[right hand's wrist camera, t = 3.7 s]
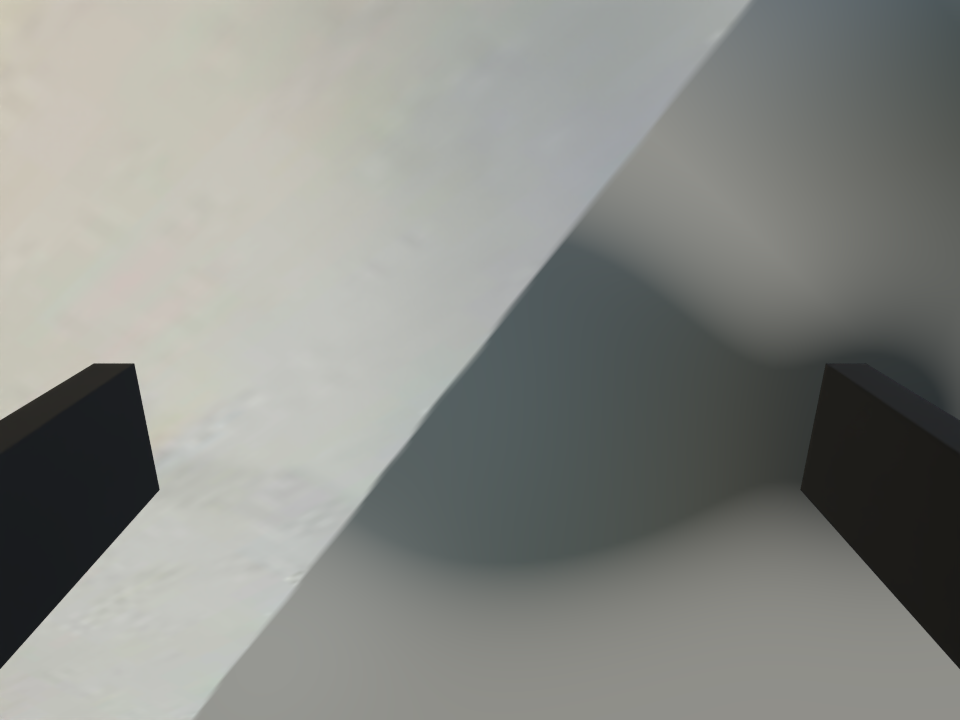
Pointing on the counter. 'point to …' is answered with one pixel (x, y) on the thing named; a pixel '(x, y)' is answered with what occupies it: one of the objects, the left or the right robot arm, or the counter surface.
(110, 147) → the counter surface
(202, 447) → the counter surface
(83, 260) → the counter surface
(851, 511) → the right robot arm
